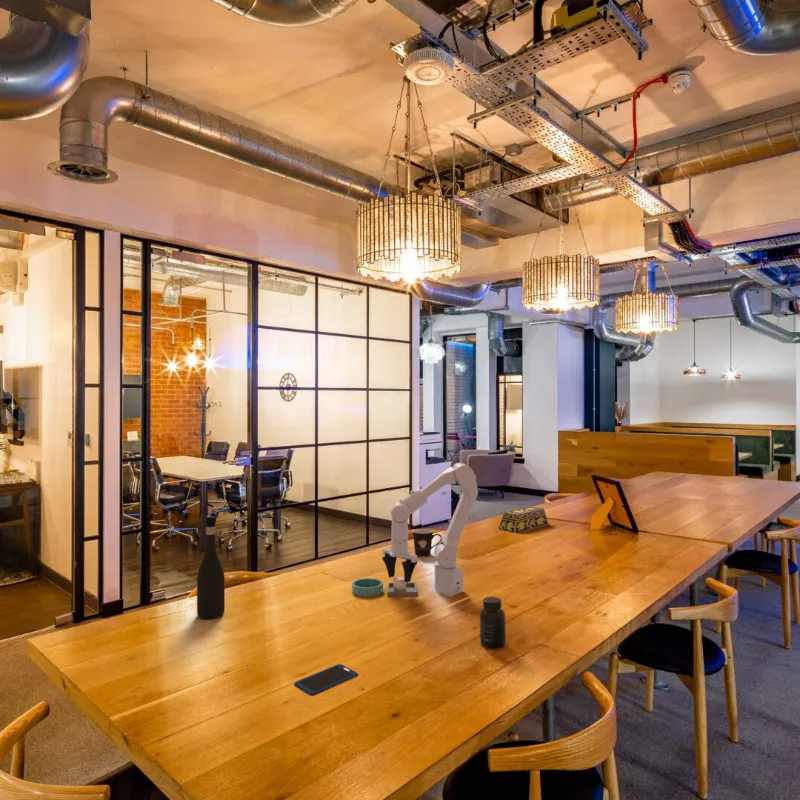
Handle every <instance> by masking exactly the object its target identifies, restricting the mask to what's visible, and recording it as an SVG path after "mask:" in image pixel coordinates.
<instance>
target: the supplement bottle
mask: <svg viewBox="0 0 800 800" xmlns="http://www.w3.org/2000/svg"><path fill="white" fill-rule="evenodd" d="M506 635H507V634H506V613H505V610H504V609H502V599H501V598H500V597H497V596H487V597H484V598H483V600H482V608H481V609H480V610H479V641H480V645H481V646H483V648H486V647H487V648H486V649H490V648H491V649H492V650H497V649H498V648H499V649H502V648H505V645H506V643H507V641H506V640H507V639H506ZM491 649H490V650H491Z"/></svg>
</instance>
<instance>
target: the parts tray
mask: <svg viewBox="0 0 800 800" xmlns="http://www.w3.org/2000/svg"><path fill="white" fill-rule="evenodd" d="M386 583H387V584H386V589H387V590H386V595H387V597H408V596H409V597H412V596H413V597H417V596H418V588H417V583H416V581H415V582H414V581H410V582H407V583H406V591H399V592H394V591H393V582H386Z"/></svg>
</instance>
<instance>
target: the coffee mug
mask: <svg viewBox="0 0 800 800" xmlns="http://www.w3.org/2000/svg"><path fill="white" fill-rule="evenodd" d="M433 532H434V530H432V529H431V528H416V529H413V530H412V537H413V547H414V553H415V554H414V555H417V557H420V556H426V557H429V556H428V555H430V556H431V553H432V552H431V551H432V549H433V548H435V547H436V546H437V545H438V544H439V543H440V542H441V540H442V538H443V536H442V535H441V534H439V533H434V534H433ZM435 536H439V537H440V540H439V541H438V542H437V543H435V544H433V545H432V541H433V539H434V538H435Z"/></svg>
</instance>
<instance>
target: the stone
mask: <svg viewBox="0 0 800 800" xmlns="http://www.w3.org/2000/svg"><path fill="white" fill-rule="evenodd" d="M392 581H393V582H392V583H393V591H394V592H399V591H406V582H405V580H404V576H396V577H395V576H394V577H393V580H392Z"/></svg>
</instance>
